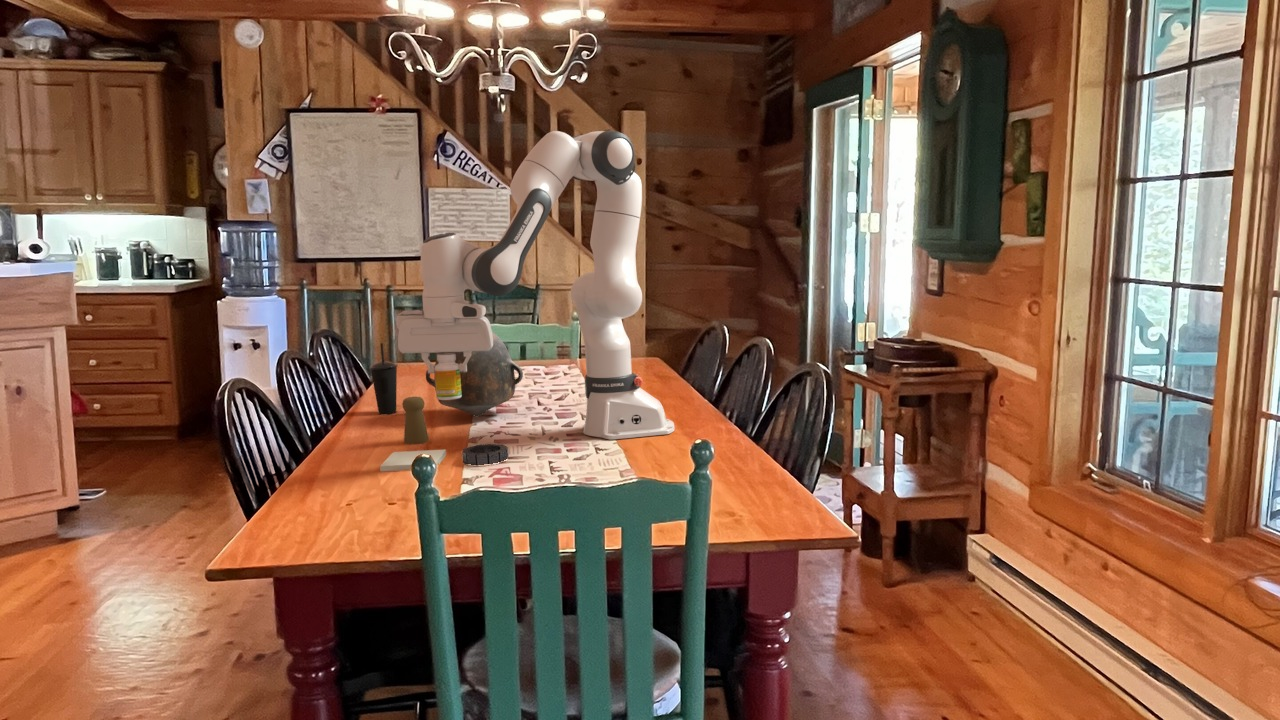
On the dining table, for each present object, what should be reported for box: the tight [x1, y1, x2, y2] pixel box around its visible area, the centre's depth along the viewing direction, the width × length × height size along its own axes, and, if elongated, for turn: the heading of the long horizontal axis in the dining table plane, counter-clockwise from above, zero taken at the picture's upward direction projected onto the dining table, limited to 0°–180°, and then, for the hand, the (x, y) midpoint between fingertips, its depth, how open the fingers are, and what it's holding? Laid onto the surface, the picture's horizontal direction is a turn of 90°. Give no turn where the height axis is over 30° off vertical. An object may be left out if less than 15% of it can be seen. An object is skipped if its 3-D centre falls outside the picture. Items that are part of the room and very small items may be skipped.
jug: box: [425, 331, 524, 417], centre depth 248 cm, size 24×21×30 cm
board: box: [379, 449, 447, 472], centre depth 203 cm, size 12×12×1 cm
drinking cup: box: [369, 342, 398, 415], centre depth 259 cm, size 8×8×20 cm
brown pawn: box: [402, 396, 430, 445], centre depth 223 cm, size 6×6×11 cm
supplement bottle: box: [435, 353, 462, 400], centre depth 199 cm, size 5×5×10 cm
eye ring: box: [461, 443, 509, 465], centre depth 203 cm, size 10×10×2 cm
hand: (447, 372), depth 199 cm, fingers closed on supplement bottle, 5 cm apart
